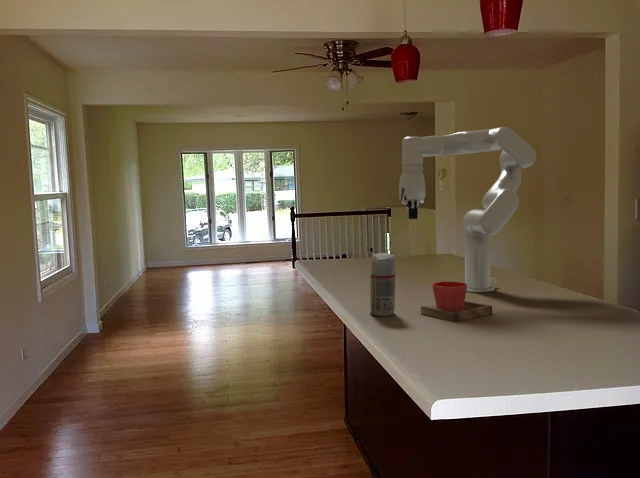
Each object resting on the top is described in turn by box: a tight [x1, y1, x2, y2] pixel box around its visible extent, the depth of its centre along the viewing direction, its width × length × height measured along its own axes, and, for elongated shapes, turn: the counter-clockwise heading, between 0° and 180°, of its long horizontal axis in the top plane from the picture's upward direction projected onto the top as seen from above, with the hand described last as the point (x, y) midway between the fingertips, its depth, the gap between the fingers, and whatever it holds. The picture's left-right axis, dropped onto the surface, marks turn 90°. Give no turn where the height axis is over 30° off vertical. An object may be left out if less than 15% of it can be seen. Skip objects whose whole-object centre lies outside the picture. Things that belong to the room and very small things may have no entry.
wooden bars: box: [420, 300, 493, 323], centre depth 187 cm, size 17×15×2 cm
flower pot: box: [432, 281, 467, 313], centre depth 187 cm, size 11×11×10 cm
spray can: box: [369, 252, 396, 317], centre depth 188 cm, size 8×8×20 cm
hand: (413, 218), depth 218 cm, fingers closed
